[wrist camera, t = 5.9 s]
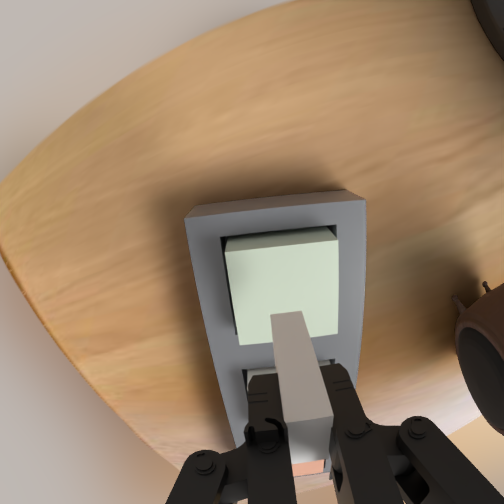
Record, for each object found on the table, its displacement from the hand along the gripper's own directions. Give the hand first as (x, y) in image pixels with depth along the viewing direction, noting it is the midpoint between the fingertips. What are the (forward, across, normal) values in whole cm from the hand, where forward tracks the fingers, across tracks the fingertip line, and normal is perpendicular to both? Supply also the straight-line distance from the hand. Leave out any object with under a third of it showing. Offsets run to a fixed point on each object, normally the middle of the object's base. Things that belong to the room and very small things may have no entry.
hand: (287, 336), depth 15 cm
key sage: (+7, 0, 0) cm, 7 cm away
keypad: (+10, 0, -10) cm, 14 cm away
